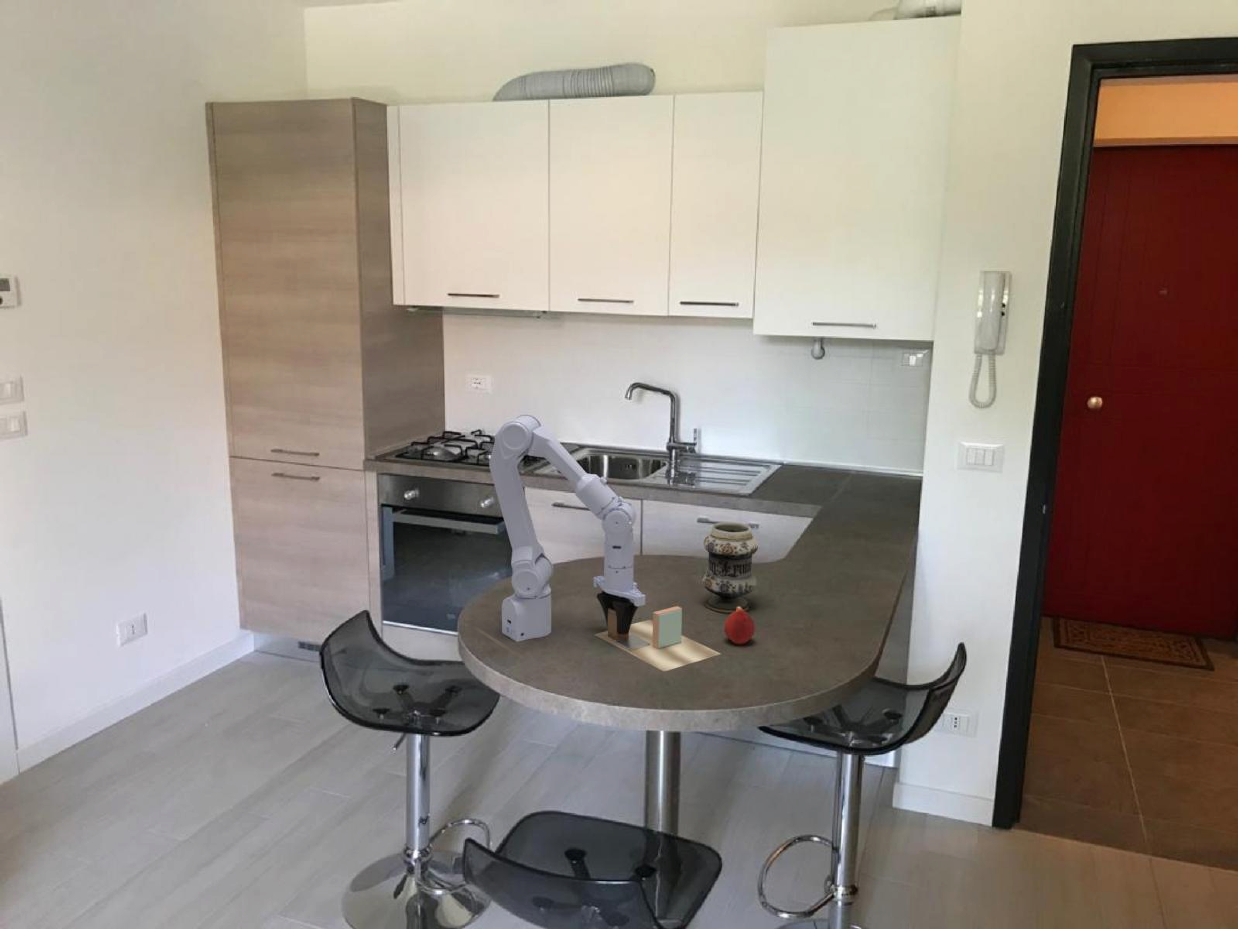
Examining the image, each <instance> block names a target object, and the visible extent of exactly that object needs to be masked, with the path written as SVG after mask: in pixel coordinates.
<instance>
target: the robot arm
mask: <svg viewBox="0 0 1238 929" xmlns="http://www.w3.org/2000/svg"><path fill="white" fill-rule="evenodd" d="M527 451H528V453H527ZM526 453H527V455H528V456H531V457H538V458H545V460H547V461H548V462H549V463H550V464H551V465H552V466H553V467H554V468H556V470H557V471H559V472H560V474H561V475H563V476H564V477H565V479H567V480H568V481H569V482H570V483H571V484H572V485H574V495H575V496H576V498H578V500H579V501H580V502H581V503H582V504H583V505H584V506H585V507H586V508H587V509H588V510H589V511H590V512H591V513H592V514H593V515H594V516H595V517H596V518H597V519H599V520H601V528H602V530H603V532H604V535H605V536H604V537H605V539H604V540H605V541H604V542H603V543H604V554H603V555H604V556H603V557H604V560H603V561H604V564H603V566H604V567H603V568H604V570H603V573H604V574H603V575H599V576H593V579H592V580H593V582H592V584H593V585H592V586H593V587H594V588H600V589H601V590H602V591H601V592H600V593H597V594H596V598H597V601H598V602H599V605H600V607H601V608H602V611H603V614H604V618H605V623H606V627H607V628H608V608H609V607H613V606H614V609H615V612H616V616H617V628H618V633H619V634H620V635H622V634H626V633H629V630H630V626H631V624H632V622H633V619H634V617H635V614H636V612H637V610H638V609H639V607H642V606H645V605H646V594H644V593H642V592H641V591H640V590H639V589H638V588H637V587H638V583H637V582H635V581H634V560H635V558H634V557H635V556H634V555H635V554H634V552H635V550H634V547H635V542H634V537H635V536H634V528H633V526H634V525H635V522H636V518H637V512H636V510H635V508H634V507H633V506H632V503H631V502H629V501H627V500H624V498H623V497H622V496H621V495H620V496H619V495H617V494H616V493H615V492H614V491H613V490H612V489H611V488H610V487H609V485H608V484H607V483H608V480H607V479H606V478H605V477H603V476H601V477H600V476H599V475H598V474H594V473H592V474H591V473H587V472H586V471H585V470H584V469H583V467H582V466H581V465H580V464H579V463H578V462H577V461H576V459H575V458H574V457H573V456H572V455H571V454H570V453H569V452H568V450H567V449H566V448H565V447H564V446H563V445H562V444H561V443H560V442H559V440H558V439H557V438H556V437H555V435H553V433H552V432H551V430H550V429H549V428H548V427H547V426H546V425H544V424H542V423H541V421H540V420H539V419H538V418H537V417H535V416H534V415H532V414H528V413H526V414H521V415H518V416H517V417H516V418H514V419H512V420H509V421H507V422H506V423H504V424H503V425H502V426H501V427H500V428H499V430H498V431H497V432H496V434H495V435H494V444H493V447H492V451H491V454H490V457H489V458H490V459H489V463H488V465H489V466H488V467H489V470H490V471H489V472H490V474H491V477H492V481H493V484H494V485H493V486H494V488H495V492H496V497H497V500H498V503H499V506H500V510H501V515H502V517H503V521H504V525H505V528H506V531H507V536H508V538H509V542H510V545H511V548H512V552H511V561H510V562H511V563H510V564H511V565H510V566H511V568H512V576H511V586H512V588H513V590H514V593H513V594H512V595H510V596H508V597H505V598H504V599H503V600H502V603H501V633H502V634H504V635H505V636H506V637H508V638H510V639H511V640H514V641H515V642H517V643H518V642H522V641H525V640H527V641H528V640H530V639H536V638H537V639H538V638H543V637H546V636H548V635H550V634H551V632H552V589H551V587H550V584H549V581H550V580H551V578H552V576H553V574H554V566H553V565H554V564H553V563H552V561H551V560H550V558H549V557H548V556H547V555H546V553H545V550H544V547H543V545H542V544H541V543H539V541H538V537H537V534H536V531H535V528H534V524H533V520H532V517H531V513H530V508H529V504H528V502H527V498H526V494H525V491H524V487H523V484H522V480H521V476H520V473H519V469H518V466H519V464H520V462H521V461H522V460H523V458H524V456H525V455H526Z"/></svg>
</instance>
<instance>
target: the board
mask: <svg viewBox="0 0 1238 929" xmlns="http://www.w3.org/2000/svg"><path fill="white" fill-rule="evenodd" d="M593 634H594V636H596V637H598V638H600V639H602V640H604V641H606V642H608V643H609V644H611V645H613V646H615V647H617V648H619V649H621V650H623V651H624V652H626V653H628V654H630V655H632V656H634V657H636V658H637V659H639V660H641V661H643V662H645V663H647V664H649V665H650V666H652V667H654V668H656V669H659V670H660V671H661V672H663V673H664V672H668V671H671V670H675V669H677V668H680V667H685V666H688V665H690V664H694V663H697V662H699V661H703V660H706V659H709V658H712V657H716V656H719V655H722V653H720V652H719V651H716V650H714V649H712V648H710V647H708V646H706V645H704V644H701V643H699V642H697V641H695V640H693V639H691V638H688V637H686V636H685V635H683V634H681V643H677V644H674V645H670V646H667V647H663V648H660V649H656V648H654V647H652V645H653V620H651V619H647V620H643V621H639V622H636V623H631V626H630V630H629V635H632V634H633V635H635V636H637V637H639V638H641V639H643V640H645V641H647V642H649V643H650V646H647V647H643V648H640V649H636V650H633V651H628V650H626V649H624V648H622V647H620V646H618V645H617V644H615V643H613V642H612V640H613V639H611V638H610V637H608V630H605V631H602V632H597V633H593Z"/></svg>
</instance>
